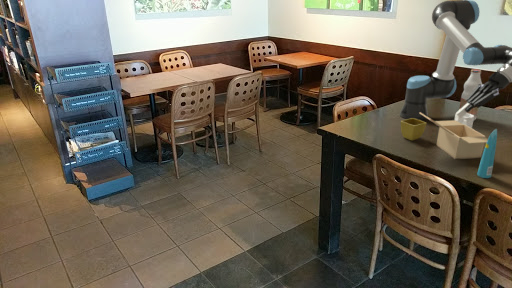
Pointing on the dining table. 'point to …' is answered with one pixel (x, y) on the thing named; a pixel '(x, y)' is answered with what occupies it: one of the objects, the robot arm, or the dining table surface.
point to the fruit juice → (471, 89)
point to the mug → (465, 119)
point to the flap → (436, 123)
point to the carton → (460, 140)
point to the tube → (488, 156)
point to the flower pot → (412, 128)
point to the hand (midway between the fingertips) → (458, 115)
